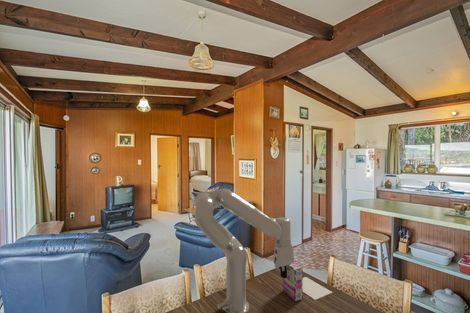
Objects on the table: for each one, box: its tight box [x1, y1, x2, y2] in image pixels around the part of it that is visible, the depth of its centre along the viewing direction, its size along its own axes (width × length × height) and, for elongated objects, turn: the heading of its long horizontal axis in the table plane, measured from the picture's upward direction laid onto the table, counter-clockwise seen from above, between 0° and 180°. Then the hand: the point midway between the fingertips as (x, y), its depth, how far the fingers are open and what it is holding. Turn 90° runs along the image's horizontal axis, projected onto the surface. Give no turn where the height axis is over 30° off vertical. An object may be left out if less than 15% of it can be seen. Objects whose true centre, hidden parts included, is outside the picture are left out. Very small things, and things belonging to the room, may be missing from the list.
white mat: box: [302, 276, 333, 301], centre depth 139 cm, size 13×19×1 cm
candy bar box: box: [282, 262, 304, 302], centre depth 132 cm, size 11×5×16 cm, turn 23°
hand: (283, 277), depth 129 cm, fingers closed
